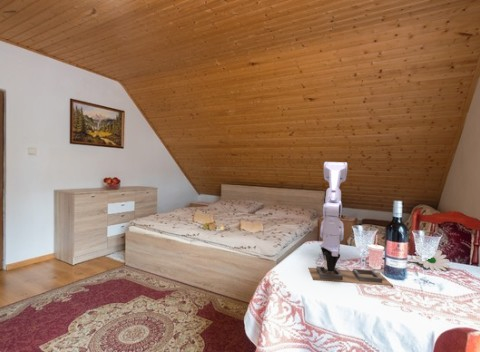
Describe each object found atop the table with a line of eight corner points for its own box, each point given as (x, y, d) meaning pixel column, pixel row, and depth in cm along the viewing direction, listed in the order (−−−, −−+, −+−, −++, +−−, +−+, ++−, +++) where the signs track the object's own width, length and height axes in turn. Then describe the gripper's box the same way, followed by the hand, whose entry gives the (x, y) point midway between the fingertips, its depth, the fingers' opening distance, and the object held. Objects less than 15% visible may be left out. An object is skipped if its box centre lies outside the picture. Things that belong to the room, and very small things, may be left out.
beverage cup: (372, 263, 121) (374, 232, 120) (385, 268, 116) (388, 235, 115) (363, 266, 117) (365, 233, 117) (377, 271, 112) (379, 237, 112)
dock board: (307, 268, 112) (308, 264, 112) (379, 273, 110) (379, 268, 110) (313, 281, 100) (313, 276, 100) (393, 287, 98) (393, 281, 98)
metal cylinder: (322, 272, 108) (323, 253, 107) (332, 273, 107) (334, 254, 107) (324, 276, 104) (325, 257, 103) (335, 277, 103) (336, 257, 103)
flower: (370, 243, 132) (445, 244, 122) (370, 250, 135) (443, 252, 124) (374, 265, 122) (455, 269, 111) (373, 273, 124) (453, 278, 114)
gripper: (316, 228, 112) (315, 261, 113) (324, 238, 98) (322, 275, 99) (334, 229, 112) (332, 262, 112) (344, 239, 97) (342, 277, 98)
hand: (329, 268), depth 105 cm, fingers closed on metal cylinder, 4 cm apart
